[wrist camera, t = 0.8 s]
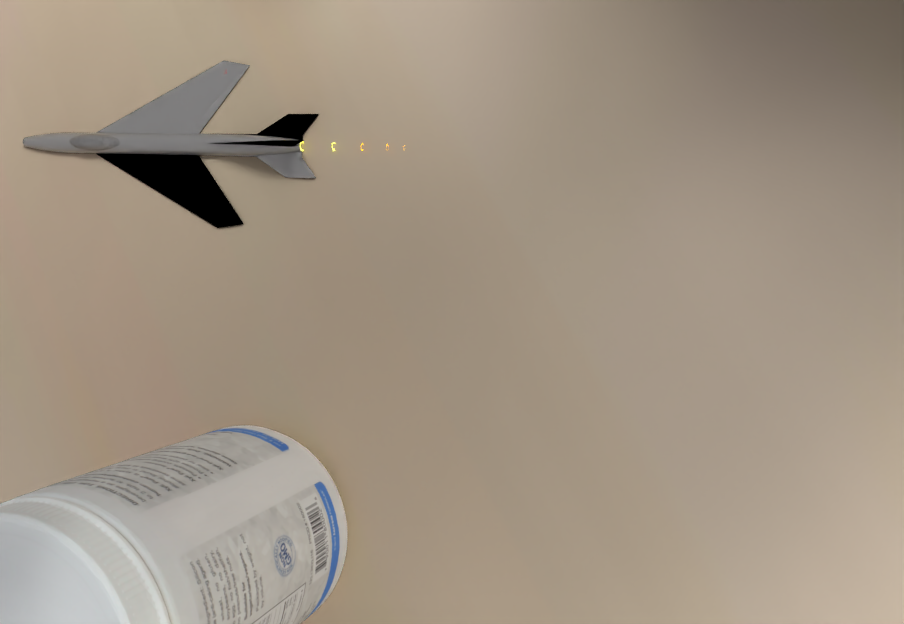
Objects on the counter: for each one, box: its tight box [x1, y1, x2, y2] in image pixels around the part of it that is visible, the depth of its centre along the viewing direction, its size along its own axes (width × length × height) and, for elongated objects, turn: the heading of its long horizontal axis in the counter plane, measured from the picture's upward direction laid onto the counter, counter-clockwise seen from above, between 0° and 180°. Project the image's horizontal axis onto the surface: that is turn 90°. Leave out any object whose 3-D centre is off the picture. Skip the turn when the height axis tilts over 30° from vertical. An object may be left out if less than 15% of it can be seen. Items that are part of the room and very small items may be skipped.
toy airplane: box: [23, 61, 404, 228], centre depth 39 cm, size 8×21×2 cm, turn 87°
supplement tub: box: [0, 425, 348, 624], centre depth 33 cm, size 10×10×15 cm
